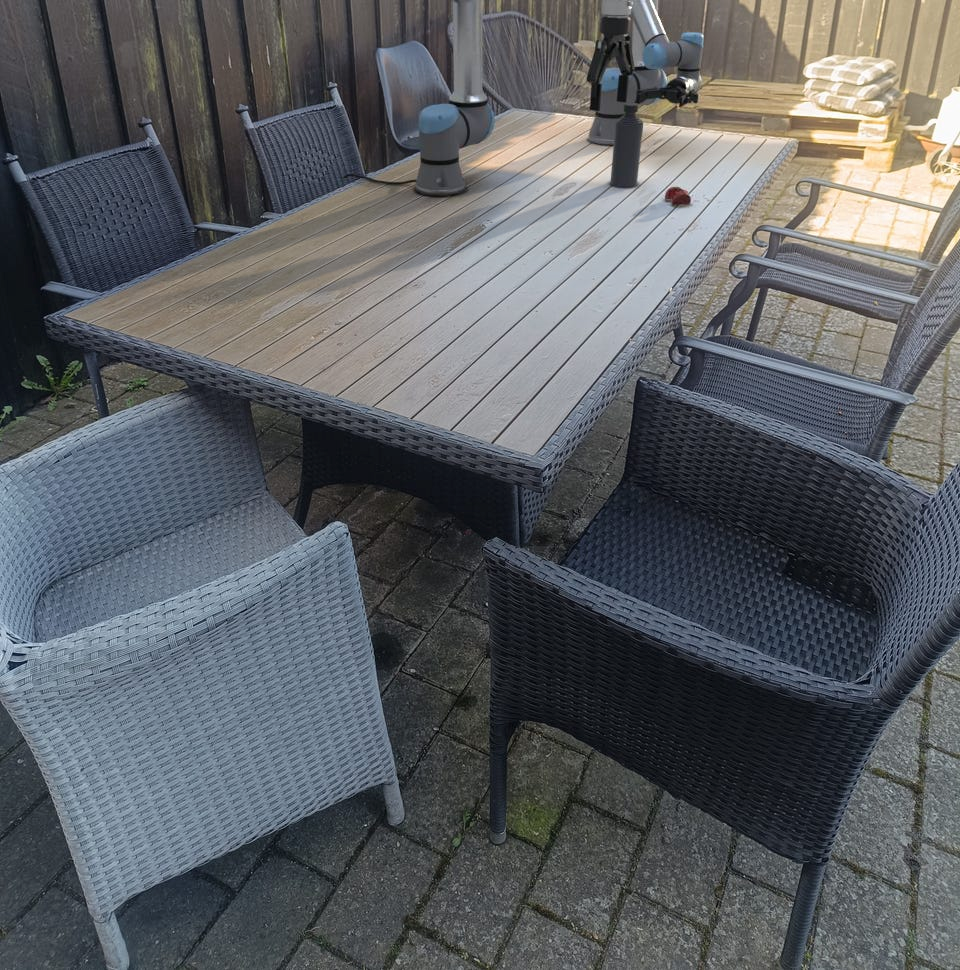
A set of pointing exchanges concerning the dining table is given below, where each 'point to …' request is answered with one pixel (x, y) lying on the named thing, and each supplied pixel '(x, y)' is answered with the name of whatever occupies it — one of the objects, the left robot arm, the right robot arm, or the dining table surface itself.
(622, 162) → the bottle
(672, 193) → the dental model
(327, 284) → the dining table surface
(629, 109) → the cap
